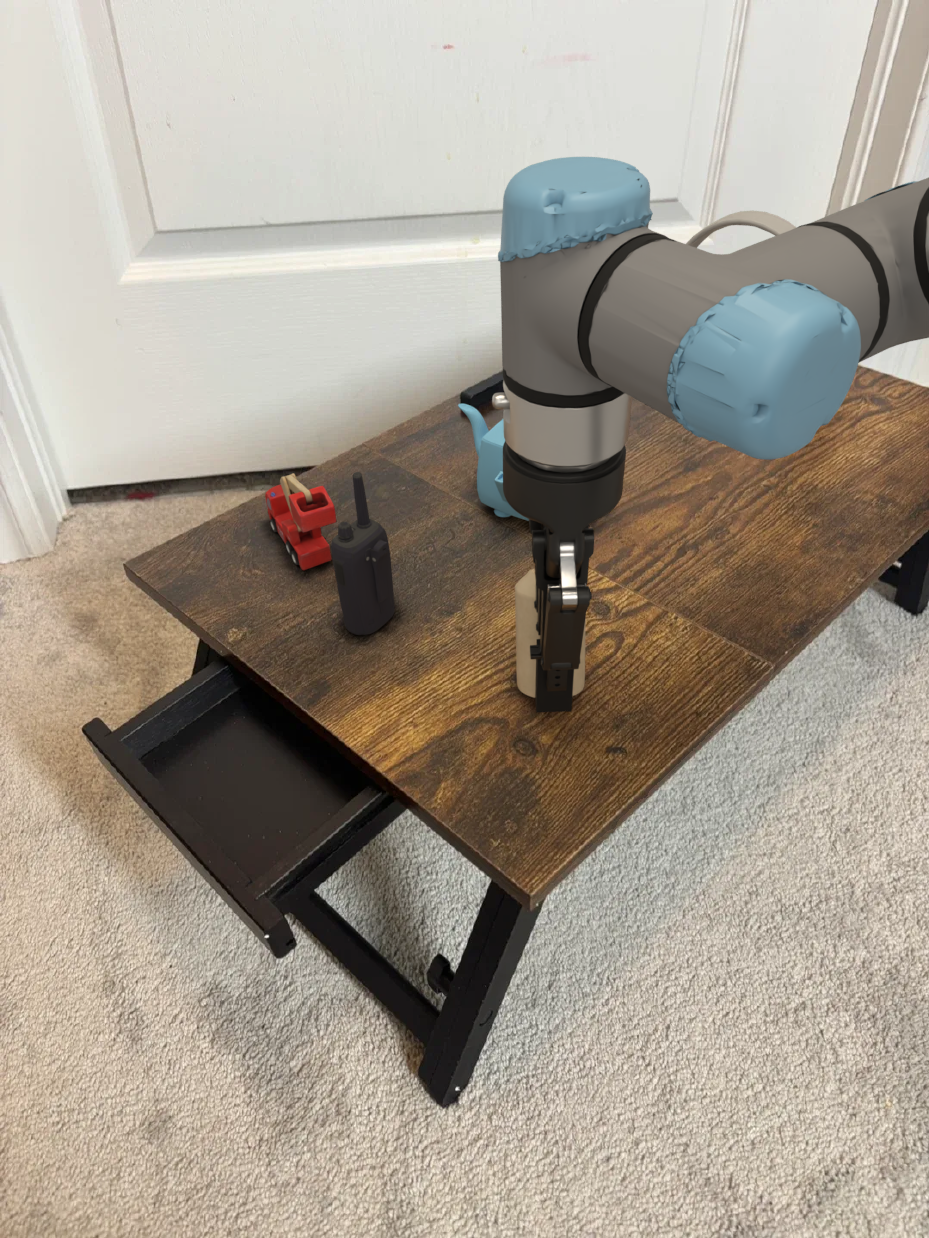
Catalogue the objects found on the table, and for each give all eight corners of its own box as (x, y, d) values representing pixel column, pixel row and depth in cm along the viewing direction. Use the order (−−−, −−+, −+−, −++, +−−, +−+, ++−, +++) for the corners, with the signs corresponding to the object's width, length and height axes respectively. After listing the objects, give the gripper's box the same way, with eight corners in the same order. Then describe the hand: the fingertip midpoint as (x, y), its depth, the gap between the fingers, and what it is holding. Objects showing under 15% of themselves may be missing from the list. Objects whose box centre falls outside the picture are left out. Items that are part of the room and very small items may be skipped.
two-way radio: (376, 596, 86) (357, 457, 76) (414, 614, 84) (399, 474, 74) (336, 630, 83) (310, 490, 72) (374, 650, 81) (353, 508, 70)
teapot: (642, 499, 95) (651, 412, 89) (578, 575, 87) (583, 485, 80) (492, 453, 103) (490, 369, 96) (420, 518, 94) (413, 432, 88)
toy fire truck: (297, 511, 96) (281, 430, 90) (348, 585, 87) (334, 500, 81) (266, 521, 95) (248, 439, 89) (315, 597, 86) (298, 512, 80)
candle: (563, 666, 79) (563, 553, 75) (597, 691, 74) (600, 572, 70) (504, 679, 77) (502, 564, 73) (537, 706, 72) (535, 584, 68)
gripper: (498, 391, 61) (501, 649, 77) (508, 505, 52) (509, 772, 67) (612, 387, 61) (591, 646, 77) (643, 499, 52) (612, 769, 67)
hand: (553, 705), depth 72 cm, fingers closed
